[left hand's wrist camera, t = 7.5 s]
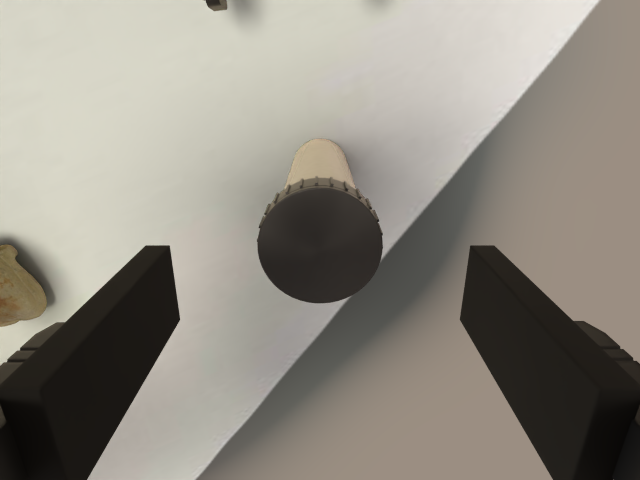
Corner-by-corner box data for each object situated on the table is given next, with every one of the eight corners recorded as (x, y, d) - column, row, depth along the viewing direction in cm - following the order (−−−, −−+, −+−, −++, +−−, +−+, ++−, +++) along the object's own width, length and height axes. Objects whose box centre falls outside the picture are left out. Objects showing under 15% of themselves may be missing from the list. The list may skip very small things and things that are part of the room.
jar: (350, 187, 33) (377, 281, 17) (298, 196, 33) (280, 297, 18) (342, 133, 31) (363, 186, 16) (288, 143, 31) (258, 204, 16)
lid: (385, 275, 19) (391, 294, 17) (275, 293, 19) (270, 313, 17) (370, 165, 17) (375, 175, 15) (249, 187, 17) (241, 198, 16)
